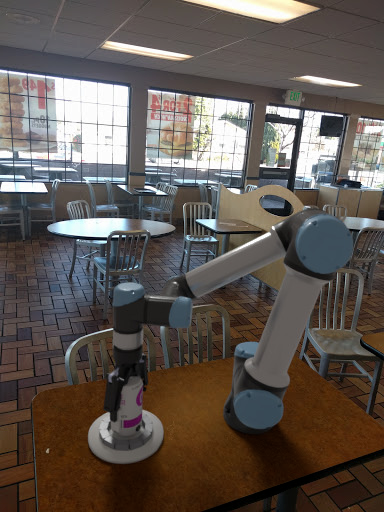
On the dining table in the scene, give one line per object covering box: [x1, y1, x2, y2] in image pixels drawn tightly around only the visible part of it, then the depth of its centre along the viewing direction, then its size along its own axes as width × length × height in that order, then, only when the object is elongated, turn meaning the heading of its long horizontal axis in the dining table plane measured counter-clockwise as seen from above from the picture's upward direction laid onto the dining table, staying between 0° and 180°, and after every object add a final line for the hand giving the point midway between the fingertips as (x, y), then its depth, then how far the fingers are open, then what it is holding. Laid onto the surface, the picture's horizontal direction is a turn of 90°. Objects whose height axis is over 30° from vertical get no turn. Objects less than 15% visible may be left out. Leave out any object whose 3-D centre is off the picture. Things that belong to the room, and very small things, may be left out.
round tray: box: [87, 409, 164, 465], centre depth 105 cm, size 20×20×3 cm
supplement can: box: [112, 375, 144, 437], centre depth 103 cm, size 8×8×15 cm
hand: (126, 420), depth 104 cm, fingers closed on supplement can, 8 cm apart
